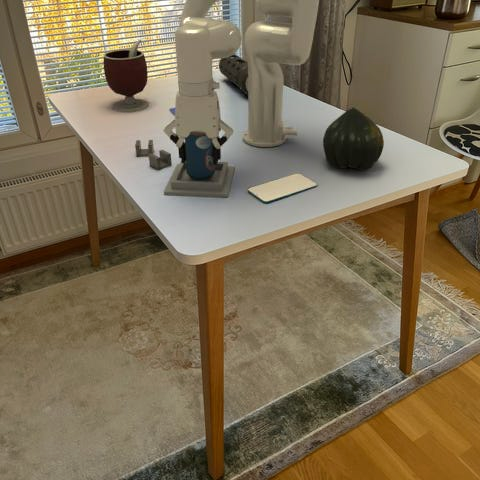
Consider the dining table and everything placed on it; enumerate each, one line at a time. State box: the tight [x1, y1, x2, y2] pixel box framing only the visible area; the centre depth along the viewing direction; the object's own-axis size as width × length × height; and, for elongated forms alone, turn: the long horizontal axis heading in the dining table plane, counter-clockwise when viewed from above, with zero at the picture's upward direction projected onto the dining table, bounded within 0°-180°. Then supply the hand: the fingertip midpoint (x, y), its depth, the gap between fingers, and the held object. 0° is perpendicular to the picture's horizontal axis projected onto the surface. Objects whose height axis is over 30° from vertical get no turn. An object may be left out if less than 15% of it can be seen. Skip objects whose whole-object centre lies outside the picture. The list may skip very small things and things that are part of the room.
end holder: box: [163, 160, 236, 198], centre depth 118 cm, size 15×15×3 cm
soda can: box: [184, 132, 215, 181], centre depth 114 cm, size 7×7×12 cm
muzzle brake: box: [218, 53, 249, 96], centre depth 178 cm, size 10×28×10 cm, turn 21°
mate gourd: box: [102, 39, 150, 113], centre depth 160 cm, size 16×14×20 cm
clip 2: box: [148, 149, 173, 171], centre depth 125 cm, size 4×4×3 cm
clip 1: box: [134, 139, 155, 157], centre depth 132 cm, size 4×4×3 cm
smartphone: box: [247, 173, 318, 205], centre depth 115 cm, size 8×1×16 cm
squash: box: [322, 106, 385, 171], centre depth 123 cm, size 14×15×15 cm
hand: (200, 161), depth 116 cm, fingers open, 7 cm apart
